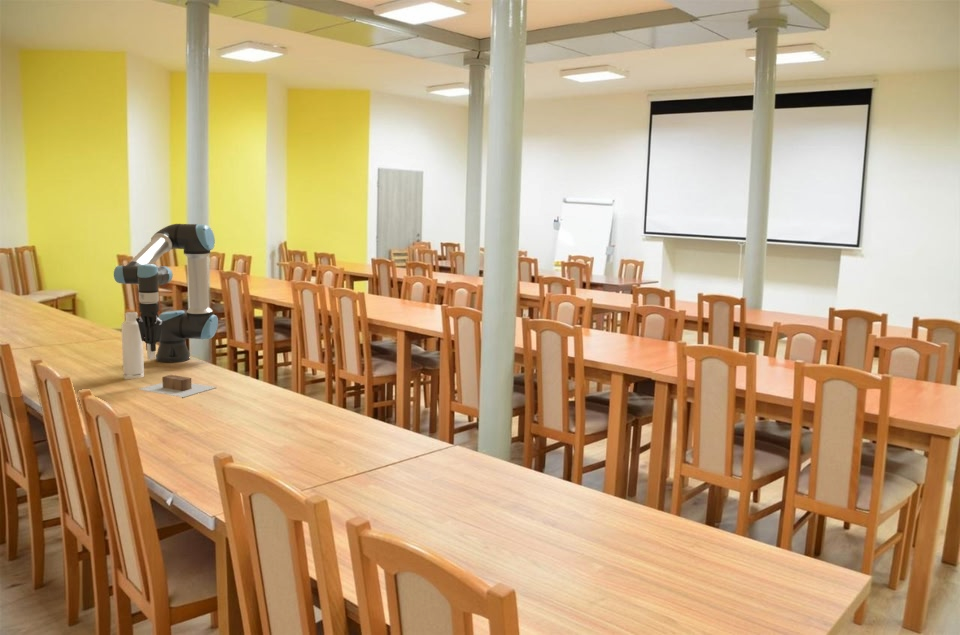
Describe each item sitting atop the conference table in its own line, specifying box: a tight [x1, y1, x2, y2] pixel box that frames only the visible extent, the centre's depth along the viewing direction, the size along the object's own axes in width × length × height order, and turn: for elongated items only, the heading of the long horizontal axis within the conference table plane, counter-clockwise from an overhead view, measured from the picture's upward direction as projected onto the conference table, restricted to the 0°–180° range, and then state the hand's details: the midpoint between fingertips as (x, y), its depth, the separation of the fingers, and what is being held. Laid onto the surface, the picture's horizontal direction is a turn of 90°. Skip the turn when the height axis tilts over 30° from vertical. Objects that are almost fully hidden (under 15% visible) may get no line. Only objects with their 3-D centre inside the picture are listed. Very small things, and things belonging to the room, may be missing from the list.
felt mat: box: [138, 382, 217, 399], centre depth 307 cm, size 18×24×1 cm
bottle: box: [121, 311, 145, 380], centre depth 322 cm, size 8×8×28 cm
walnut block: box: [162, 374, 192, 391], centre depth 306 cm, size 4×4×11 cm
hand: (151, 358), depth 311 cm, fingers closed
